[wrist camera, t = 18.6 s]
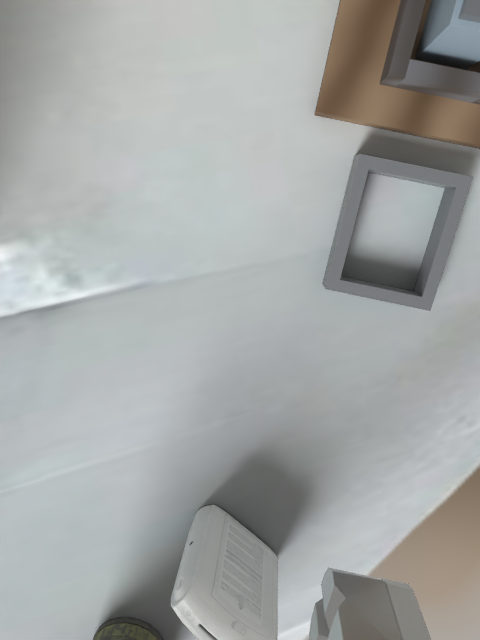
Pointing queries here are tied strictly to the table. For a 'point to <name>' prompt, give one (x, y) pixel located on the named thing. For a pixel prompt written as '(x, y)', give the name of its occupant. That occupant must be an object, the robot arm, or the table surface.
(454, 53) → the plug
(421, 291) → the grey rectangular frame
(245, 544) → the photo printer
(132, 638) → the thermos
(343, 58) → the dock
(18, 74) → the table surface
